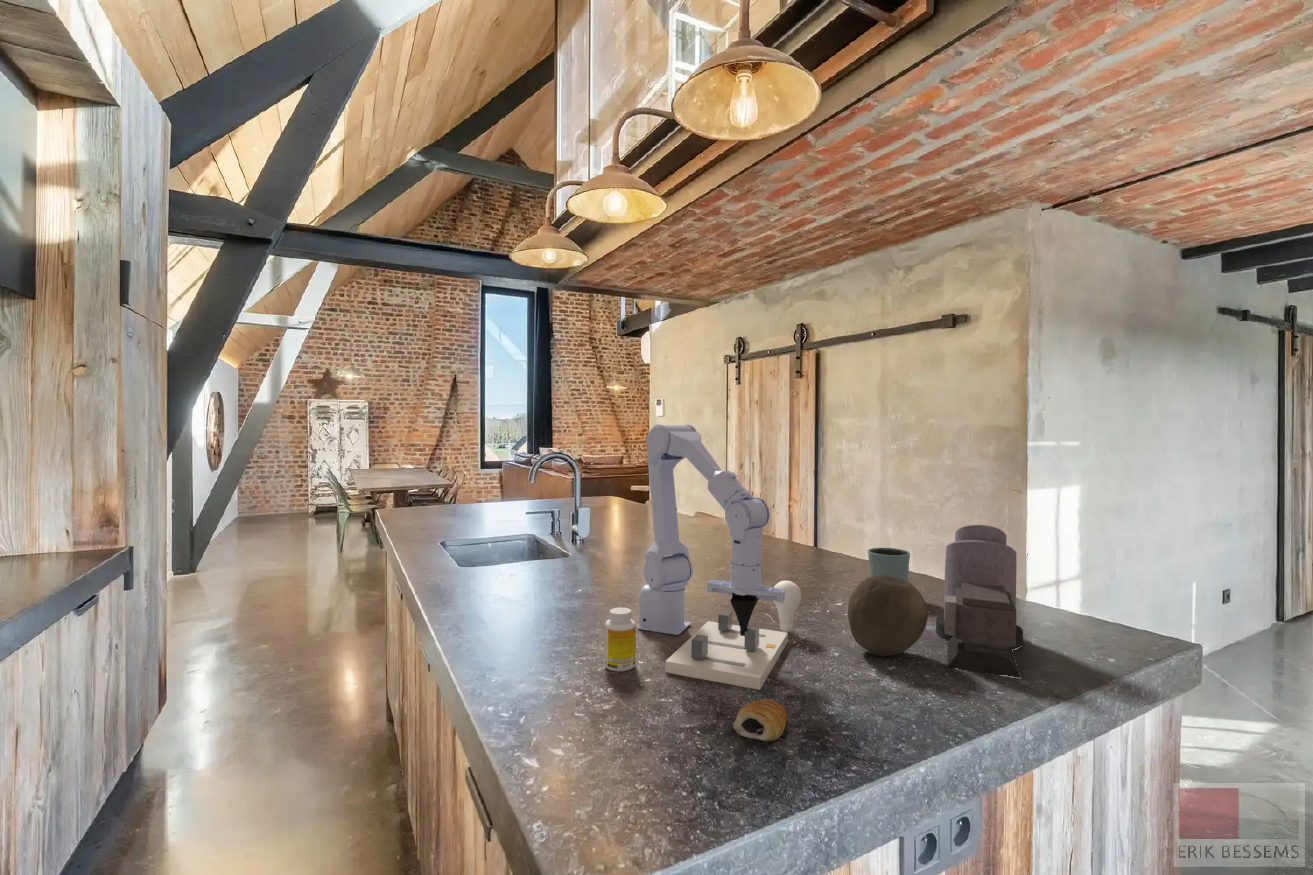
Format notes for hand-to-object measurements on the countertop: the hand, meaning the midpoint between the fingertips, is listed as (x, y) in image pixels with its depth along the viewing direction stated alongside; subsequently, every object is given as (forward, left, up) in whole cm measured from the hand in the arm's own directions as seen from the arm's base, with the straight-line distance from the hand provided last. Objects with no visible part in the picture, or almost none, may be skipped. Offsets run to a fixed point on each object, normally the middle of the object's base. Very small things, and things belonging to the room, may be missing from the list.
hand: (744, 634), depth 112 cm
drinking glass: (+23, +56, -5) cm, 61 cm away
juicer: (+42, +26, -5) cm, 49 cm away
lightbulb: (+4, +18, -5) cm, 19 cm away
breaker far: (-6, +8, -2) cm, 10 cm away
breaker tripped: (+2, 0, -2) cm, 3 cm away
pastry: (+9, -24, -5) cm, 26 cm away
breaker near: (-6, -8, -2) cm, 10 cm away
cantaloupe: (+25, +14, -5) cm, 28 cm away
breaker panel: (-3, 0, -5) cm, 5 cm away
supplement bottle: (-20, -13, -5) cm, 24 cm away
